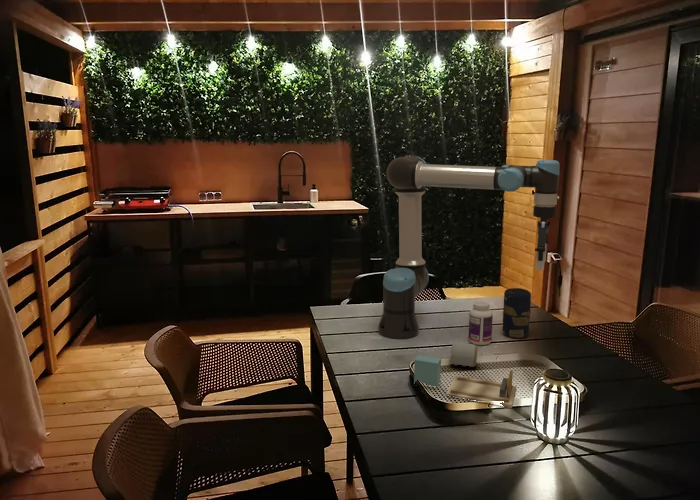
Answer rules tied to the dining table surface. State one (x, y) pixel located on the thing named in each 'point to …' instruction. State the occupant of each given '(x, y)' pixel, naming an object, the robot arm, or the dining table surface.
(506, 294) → the canister
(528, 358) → the dining table surface
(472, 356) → the grey rectangular block
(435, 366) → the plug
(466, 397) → the wooden tray
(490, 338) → the pill bottle
